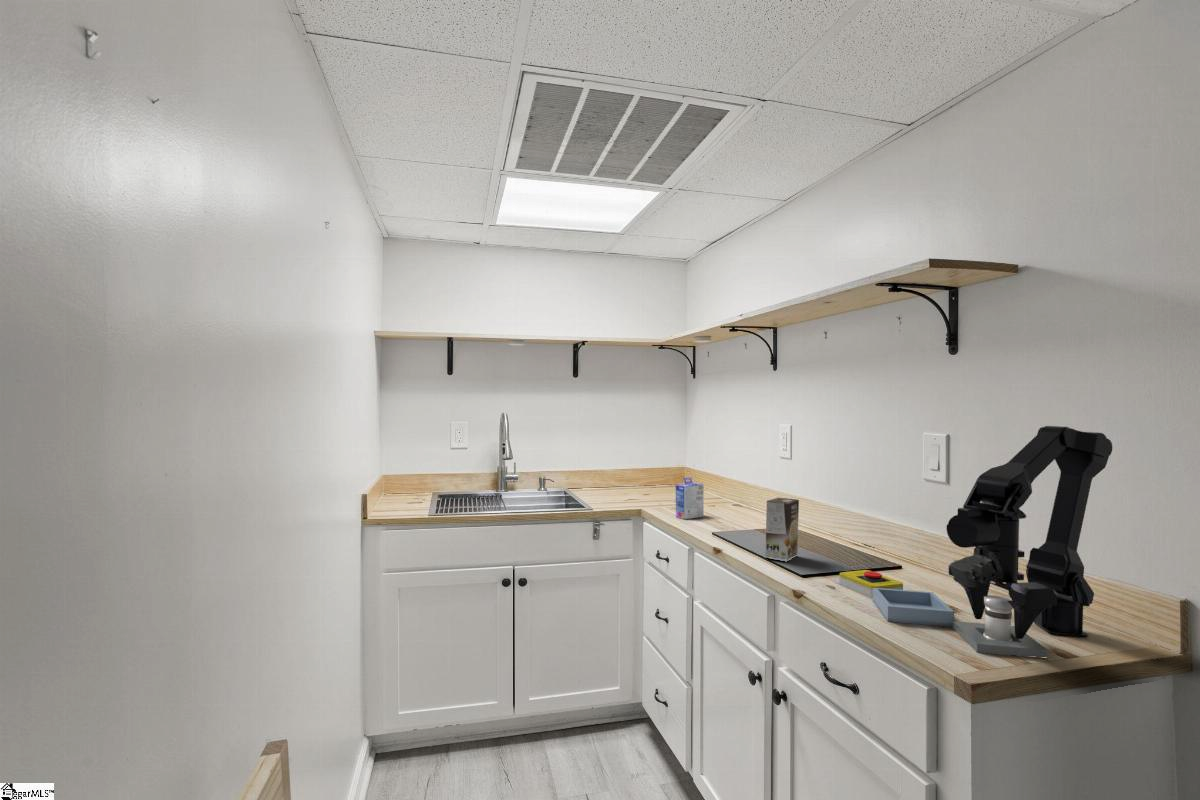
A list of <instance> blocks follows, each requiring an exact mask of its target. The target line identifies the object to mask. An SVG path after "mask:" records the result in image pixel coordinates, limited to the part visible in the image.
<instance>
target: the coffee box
mask: <svg viewBox="0 0 1200 800" xmlns="http://www.w3.org/2000/svg"><path fill="white" fill-rule="evenodd" d="M799 505H800V501H799V499H796V498H789V497H788V498H787V497H776V498H773V499H768V500H766V511H765V512H766V515H765V516H766V520H765V522H766V523H765V558H766V557H773V558H781V559H787V560H788V559H789V558H791V557H793V556H795V555H797V554H799V553H798V551H799V549H798V548H799V512H800V511H799V508H800V507H799ZM765 558H764V559H765Z"/></svg>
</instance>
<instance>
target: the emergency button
mask: <svg viewBox="0 0 1200 800" xmlns="http://www.w3.org/2000/svg"><path fill="white" fill-rule="evenodd" d="M832 582H833V583H835V584H837V585H839V586H841V587H844V588H846V589H848V590H851V591H854V592H856V593H857V594H858V593H859V594H861V595H863V596H865V597H867V598H870V599H872V600H873V588H884V589H897V590H904V583H903V582H902V581H900V580H897V579H894V578H892V577H888V576H886V575H883V574H882V573H879V572H876V571H872V570H868V569H861V570H853V571H852V570H851V571H842V572H839V577H838V579H834V580H832Z"/></svg>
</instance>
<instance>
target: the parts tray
mask: <svg viewBox="0 0 1200 800" xmlns="http://www.w3.org/2000/svg"><path fill="white" fill-rule="evenodd" d="M872 603H873V604H874V606H875V607H877V609H878V611H879V612H880V613H881V614H882V616H883V617H884V618H885V620H886V621H887V622H892V623H903V624H912V625H913V624H914V625H926V626H938V627H949V628H950V627H951V628H953V621H955V611H954V610H953V609H951V607H950V606H948V605H947V604H946V603H945V602H944V601H943V600H942V599H941V598H939V596H938V595H936V594H935V593H934V592H933V591H921V590H908V589H903V590H897V589H884V588H873V599H872Z"/></svg>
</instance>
